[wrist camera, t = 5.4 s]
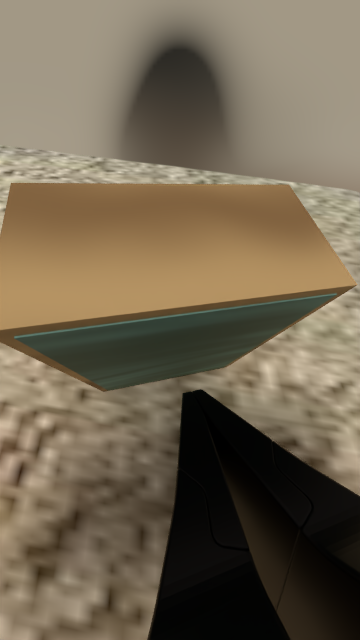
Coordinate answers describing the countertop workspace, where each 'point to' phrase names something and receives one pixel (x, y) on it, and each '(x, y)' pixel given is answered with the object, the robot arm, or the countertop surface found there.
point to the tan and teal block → (157, 276)
